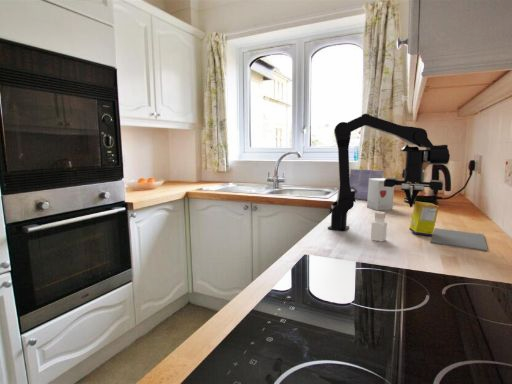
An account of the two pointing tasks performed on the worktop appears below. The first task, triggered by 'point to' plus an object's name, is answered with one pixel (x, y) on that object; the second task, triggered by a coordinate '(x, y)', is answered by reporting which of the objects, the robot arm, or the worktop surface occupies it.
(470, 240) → the rubber mat
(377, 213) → the pepper shaker
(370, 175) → the cake pan box
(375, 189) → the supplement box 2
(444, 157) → the robot arm
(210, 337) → the worktop surface
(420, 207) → the supplement box
